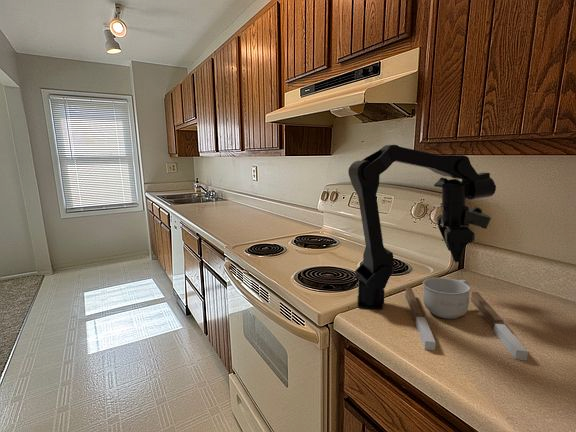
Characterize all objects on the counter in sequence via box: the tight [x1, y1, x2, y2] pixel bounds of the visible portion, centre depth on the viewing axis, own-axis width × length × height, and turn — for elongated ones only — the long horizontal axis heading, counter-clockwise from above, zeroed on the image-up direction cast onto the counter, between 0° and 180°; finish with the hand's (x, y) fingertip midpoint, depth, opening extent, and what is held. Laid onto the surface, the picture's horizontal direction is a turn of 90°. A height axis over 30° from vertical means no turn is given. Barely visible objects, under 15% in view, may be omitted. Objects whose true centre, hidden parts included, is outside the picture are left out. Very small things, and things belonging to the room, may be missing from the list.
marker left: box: [415, 316, 437, 351], centre depth 69 cm, size 2×10×2 cm, turn 168°
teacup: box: [422, 277, 471, 320], centre depth 79 cm, size 14×11×8 cm
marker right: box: [493, 323, 529, 361], centre depth 66 cm, size 2×10×2 cm, turn 168°
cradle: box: [404, 286, 503, 329], centre depth 80 cm, size 19×15×2 cm
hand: (453, 255), depth 86 cm, fingers open, 9 cm apart
